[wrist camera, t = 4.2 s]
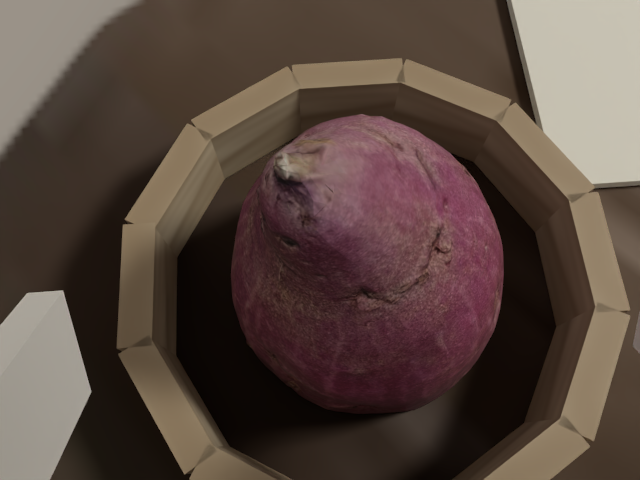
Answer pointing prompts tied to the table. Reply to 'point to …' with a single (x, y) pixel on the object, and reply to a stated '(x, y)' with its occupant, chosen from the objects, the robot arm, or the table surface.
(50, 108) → the table surface
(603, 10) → the white mat
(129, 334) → the segmented wooden ring
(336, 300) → the vegetable
